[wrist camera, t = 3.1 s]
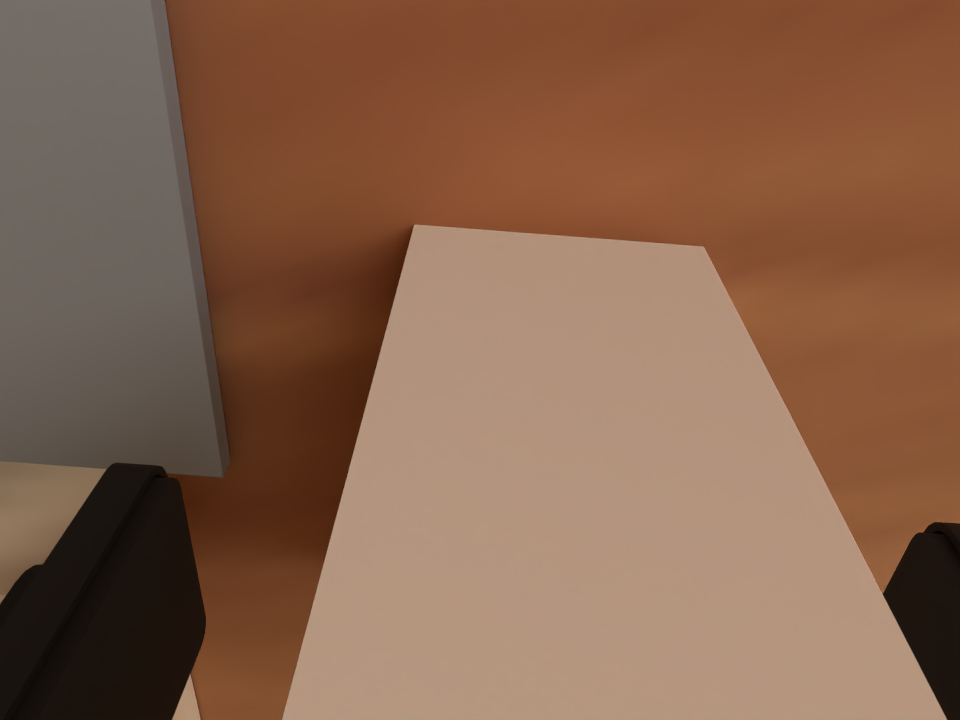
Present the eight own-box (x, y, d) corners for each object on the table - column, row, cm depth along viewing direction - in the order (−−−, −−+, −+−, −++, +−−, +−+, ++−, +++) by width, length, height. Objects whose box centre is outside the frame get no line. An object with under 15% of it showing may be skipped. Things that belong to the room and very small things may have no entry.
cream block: (703, 245, 11) (1191, 1199, 3) (619, 589, 14) (741, 1392, 7) (414, 223, 11) (169, 1132, 3) (406, 573, 14) (290, 1365, 7)
